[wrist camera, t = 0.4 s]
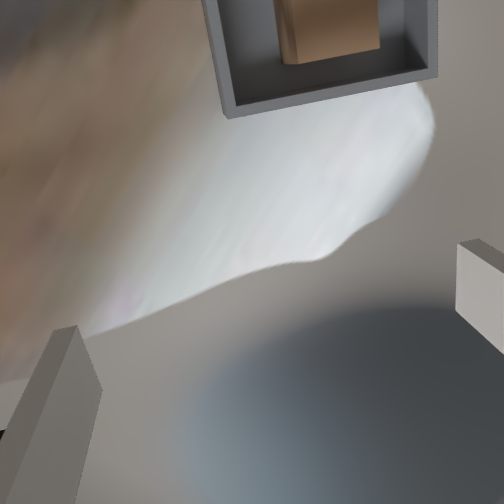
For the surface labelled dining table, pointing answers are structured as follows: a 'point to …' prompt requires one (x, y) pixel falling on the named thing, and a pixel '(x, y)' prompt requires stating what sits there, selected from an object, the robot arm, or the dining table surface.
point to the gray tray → (316, 72)
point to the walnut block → (325, 28)
